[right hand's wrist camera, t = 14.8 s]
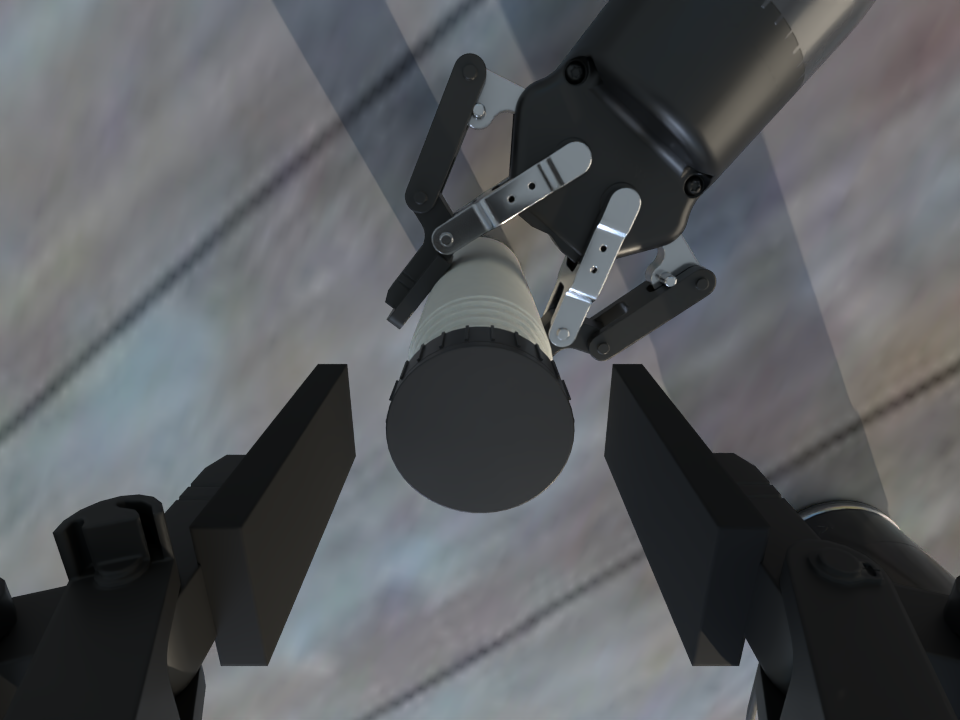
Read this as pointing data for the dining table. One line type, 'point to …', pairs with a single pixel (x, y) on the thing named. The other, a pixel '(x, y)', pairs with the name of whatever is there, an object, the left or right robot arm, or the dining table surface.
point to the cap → (480, 420)
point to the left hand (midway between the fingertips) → (444, 354)
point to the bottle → (481, 297)
